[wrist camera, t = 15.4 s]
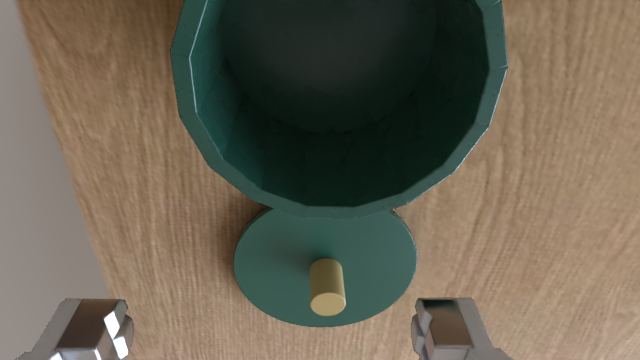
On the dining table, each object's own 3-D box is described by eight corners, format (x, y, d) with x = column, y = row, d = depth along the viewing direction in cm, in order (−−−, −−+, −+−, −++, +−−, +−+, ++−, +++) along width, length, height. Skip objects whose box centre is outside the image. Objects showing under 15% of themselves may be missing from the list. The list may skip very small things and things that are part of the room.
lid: (333, 149, 29) (338, 189, 25) (448, 260, 35) (466, 305, 31) (197, 257, 34) (184, 304, 30) (319, 336, 40) (321, 384, 36)
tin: (343, -179, 19) (366, -224, 12) (490, 43, 25) (563, 99, 18) (161, 28, 24) (102, 83, 17) (320, 174, 30) (326, 259, 23)
